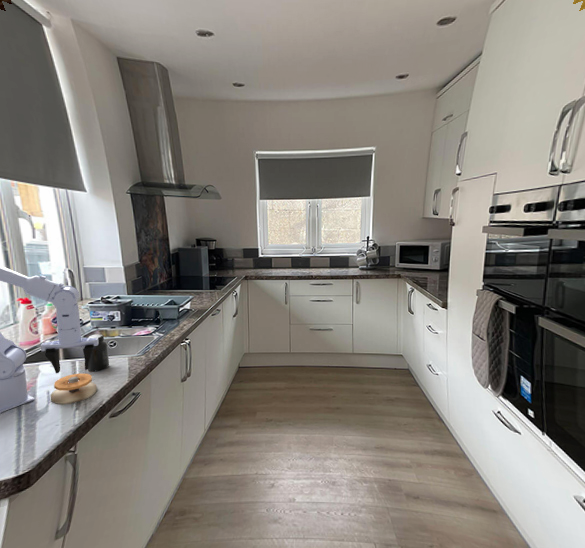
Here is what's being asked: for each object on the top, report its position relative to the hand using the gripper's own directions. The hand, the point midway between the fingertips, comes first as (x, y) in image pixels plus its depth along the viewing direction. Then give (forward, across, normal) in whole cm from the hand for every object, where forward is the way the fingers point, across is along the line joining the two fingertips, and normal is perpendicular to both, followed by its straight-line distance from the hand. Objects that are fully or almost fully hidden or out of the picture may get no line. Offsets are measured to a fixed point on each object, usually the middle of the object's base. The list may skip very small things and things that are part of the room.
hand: (72, 370), depth 105 cm
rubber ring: (+4, 0, 0) cm, 4 cm away
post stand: (+8, 0, 0) cm, 8 cm away
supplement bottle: (+8, -4, -19) cm, 21 cm away
